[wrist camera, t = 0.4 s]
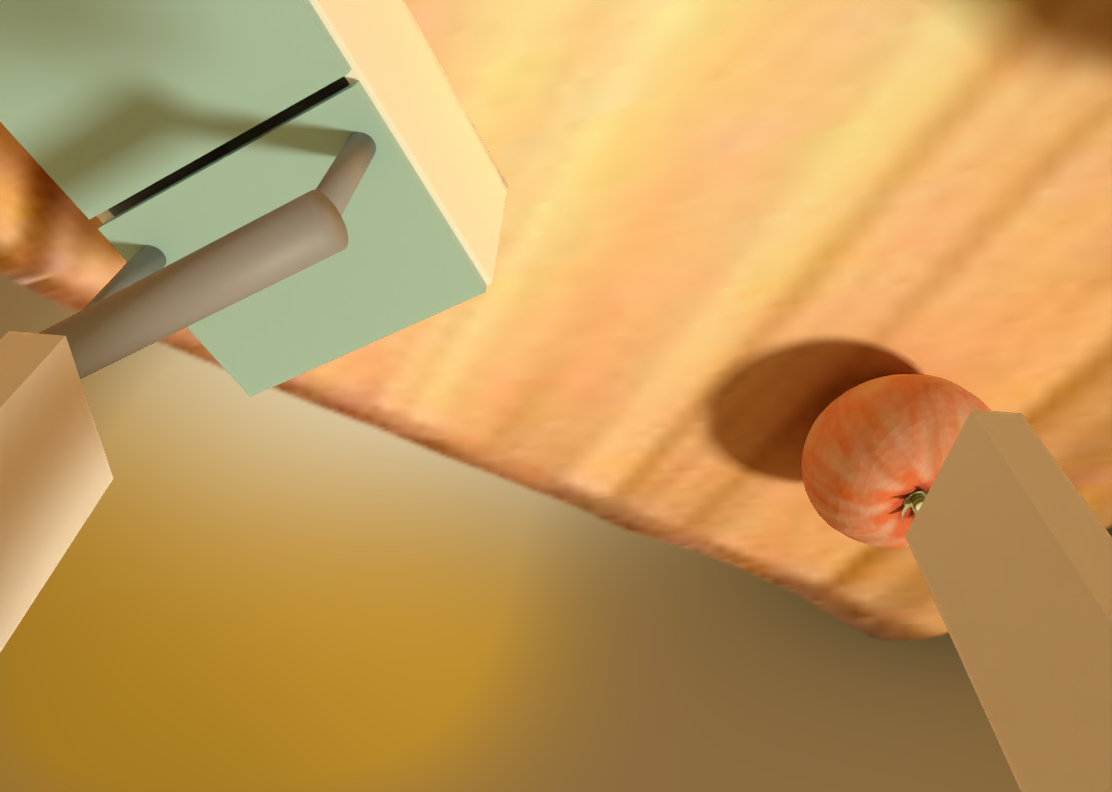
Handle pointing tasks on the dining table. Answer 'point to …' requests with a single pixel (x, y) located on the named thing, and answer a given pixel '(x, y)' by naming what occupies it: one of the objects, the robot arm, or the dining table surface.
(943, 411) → the orange pumpkin
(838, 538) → the dining table surface
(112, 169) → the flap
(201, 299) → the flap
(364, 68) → the carton
